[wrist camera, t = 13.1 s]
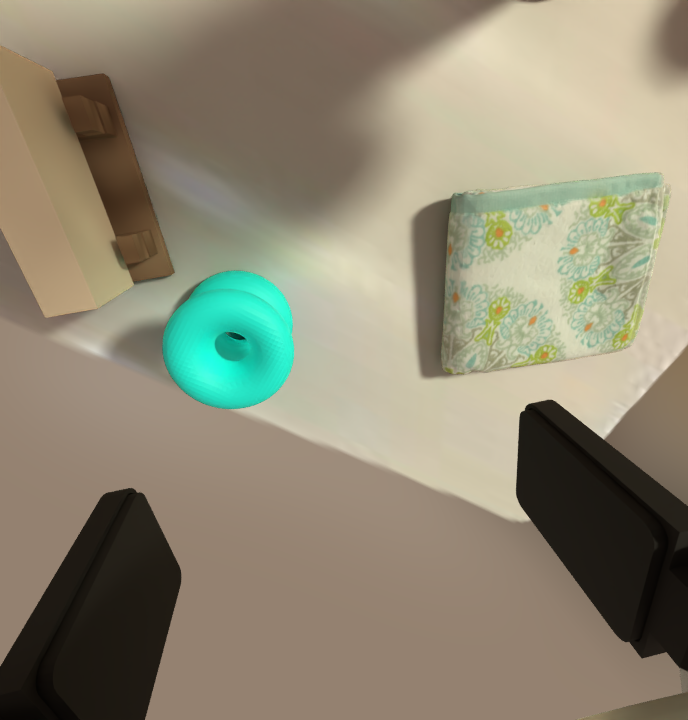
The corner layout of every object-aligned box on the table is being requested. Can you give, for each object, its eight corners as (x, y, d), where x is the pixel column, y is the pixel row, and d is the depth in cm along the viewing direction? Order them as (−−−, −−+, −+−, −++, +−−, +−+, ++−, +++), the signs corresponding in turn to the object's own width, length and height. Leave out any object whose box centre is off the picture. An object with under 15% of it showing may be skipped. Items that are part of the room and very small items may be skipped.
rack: (-14, 94, 29) (-70, 77, 24) (108, 77, 29) (76, 56, 25) (74, 290, 35) (43, 305, 31) (174, 272, 36) (158, 284, 31)
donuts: (136, 384, 29) (190, 268, 26) (171, 337, 38) (215, 247, 35) (257, 433, 32) (318, 334, 30) (264, 379, 41) (310, 300, 39)
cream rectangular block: (-1, 78, 26) (-92, 44, 20) (52, 71, 27) (-21, 34, 20) (92, 292, 33) (45, 317, 26) (134, 285, 33) (97, 308, 26)
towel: (608, 341, 46) (644, 358, 41) (435, 364, 44) (452, 385, 39) (646, 171, 38) (695, 169, 34) (439, 189, 36) (461, 190, 32)
